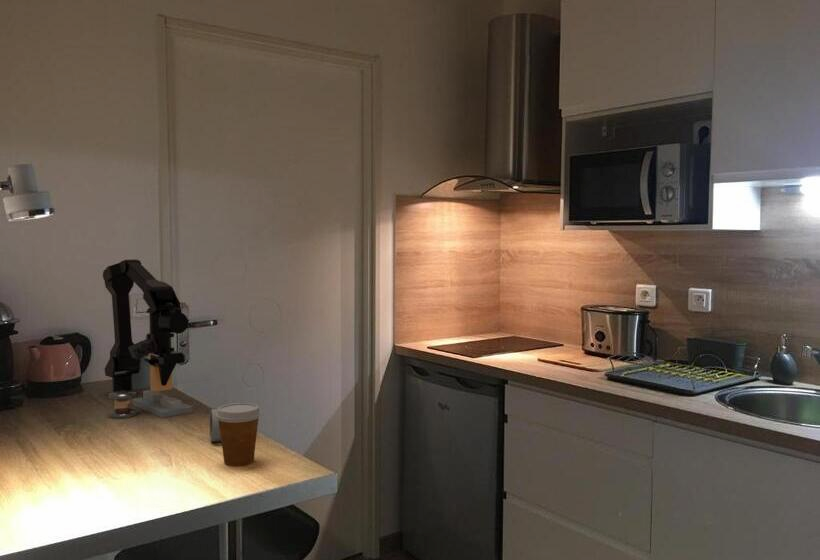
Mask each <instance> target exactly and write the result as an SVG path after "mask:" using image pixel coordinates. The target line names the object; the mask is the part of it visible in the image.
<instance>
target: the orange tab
mask: <svg viewBox="0 0 820 560" xmlns="http://www.w3.org/2000/svg"><path fill="white" fill-rule="evenodd" d="M172 376H173V372H172V373H171V375H170V378H169V380H168V382H167V384H166V385H165V386H162V384H161V378H160V371H159V367H158V366H156V365H150V388H149V390H152V391H154V392H157V391H158V392H163V391H169V390H172V389H173V379H172V378H173V377H172Z"/></svg>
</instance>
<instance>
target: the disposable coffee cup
mask: <svg viewBox="0 0 820 560" xmlns="http://www.w3.org/2000/svg"><path fill="white" fill-rule="evenodd" d="M217 409H218V412H217V413H216V417H217V419H218V421H219V429H220V435H221V441H220V442H221V448H222V454H223V455H222V456H223V462H224V465H226V466H231V467H243V466H247V465H250V464H252V463H254V459H255V451H256V443H257V435H258V426H259V419H260V415H261V413H262V412H261V410H260V408H259V405H257V404H256V403H250V402H249V403H248V402H236V403H235V402H234V403H228V404H227V403H226V404H224V405H221V406H219V407H218V408H217Z"/></svg>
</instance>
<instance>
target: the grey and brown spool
mask: <svg viewBox="0 0 820 560" xmlns="http://www.w3.org/2000/svg"><path fill="white" fill-rule="evenodd" d="M110 392H111V393H109V392H108V393H109V394H108V399H110V400H114V410H111V411H109V412H108V417H109V418H111V419H127V418H131V417H132V418H133V417H134V416H136V415H138V413H137V412H138V411H137V410H136V409H134V408H132V407H131V405H132V404H131V402H132V401H131V398H134V397H136V396H137V394H136V393H137V391H136V390H133V391H130V390H124V391H115V392H113V391H110Z"/></svg>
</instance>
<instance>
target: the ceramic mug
mask: <svg viewBox="0 0 820 560" xmlns="http://www.w3.org/2000/svg"><path fill="white" fill-rule="evenodd" d="M217 412H218V408H217V409H211V410H210V413H209V440H210V442H211V443H217V442H219V443H220V442H221V435H220V429H219V421H218V419H217V417H216V413H217Z"/></svg>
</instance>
